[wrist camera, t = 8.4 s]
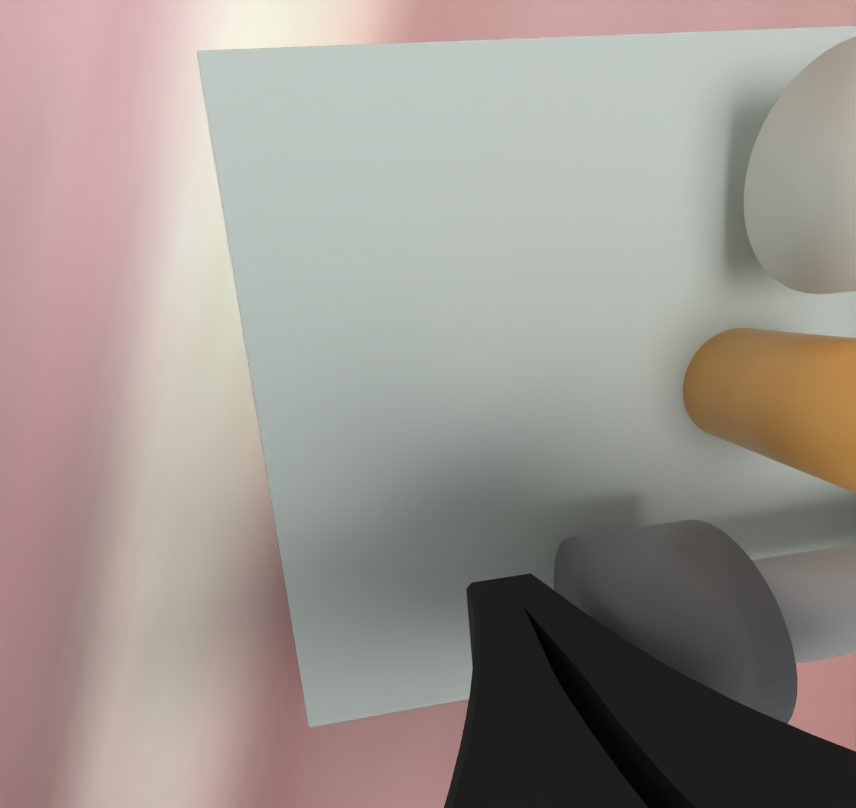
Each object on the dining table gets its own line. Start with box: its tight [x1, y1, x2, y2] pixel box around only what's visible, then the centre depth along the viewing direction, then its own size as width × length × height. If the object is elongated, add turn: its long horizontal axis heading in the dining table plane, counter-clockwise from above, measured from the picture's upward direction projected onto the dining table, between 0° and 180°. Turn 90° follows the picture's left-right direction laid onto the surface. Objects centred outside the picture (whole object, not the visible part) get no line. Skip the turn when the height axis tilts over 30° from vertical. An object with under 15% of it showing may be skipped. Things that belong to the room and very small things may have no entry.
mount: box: [197, 26, 856, 728], centre depth 9 cm, size 15×14×6 cm
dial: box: [683, 328, 856, 493], centre depth 9 cm, size 2×2×5 cm
